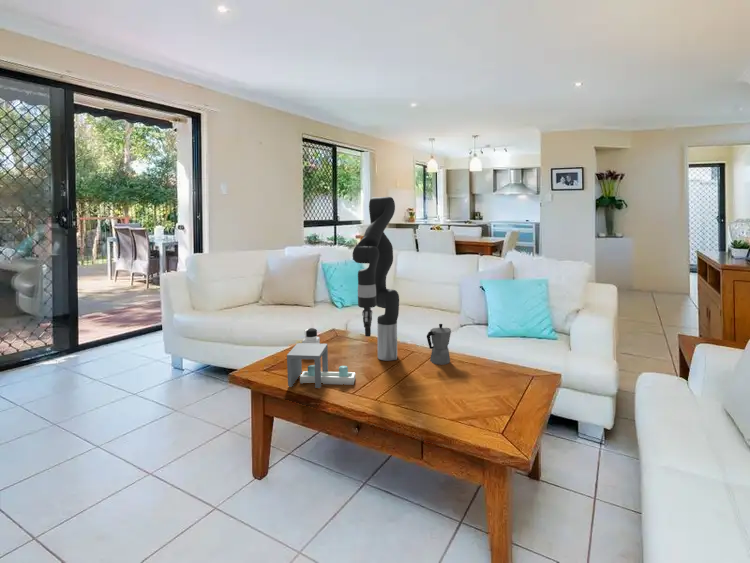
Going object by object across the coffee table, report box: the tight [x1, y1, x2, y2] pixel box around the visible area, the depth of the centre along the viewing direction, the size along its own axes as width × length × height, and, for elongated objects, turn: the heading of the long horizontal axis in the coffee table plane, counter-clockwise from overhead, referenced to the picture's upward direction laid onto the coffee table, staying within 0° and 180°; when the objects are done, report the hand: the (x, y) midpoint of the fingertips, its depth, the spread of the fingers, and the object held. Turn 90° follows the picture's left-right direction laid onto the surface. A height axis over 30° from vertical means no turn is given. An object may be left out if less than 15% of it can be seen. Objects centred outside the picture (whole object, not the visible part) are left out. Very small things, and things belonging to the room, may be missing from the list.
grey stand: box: [286, 342, 329, 389], centre depth 185 cm, size 13×16×14 cm
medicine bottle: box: [301, 327, 321, 344], centre depth 221 cm, size 7×7×12 cm
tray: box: [299, 364, 356, 386], centre depth 184 cm, size 22×6×6 cm, turn 86°
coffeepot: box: [426, 323, 452, 366], centre depth 206 cm, size 15×9×18 cm, turn 129°
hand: (367, 335), depth 185 cm, fingers closed
